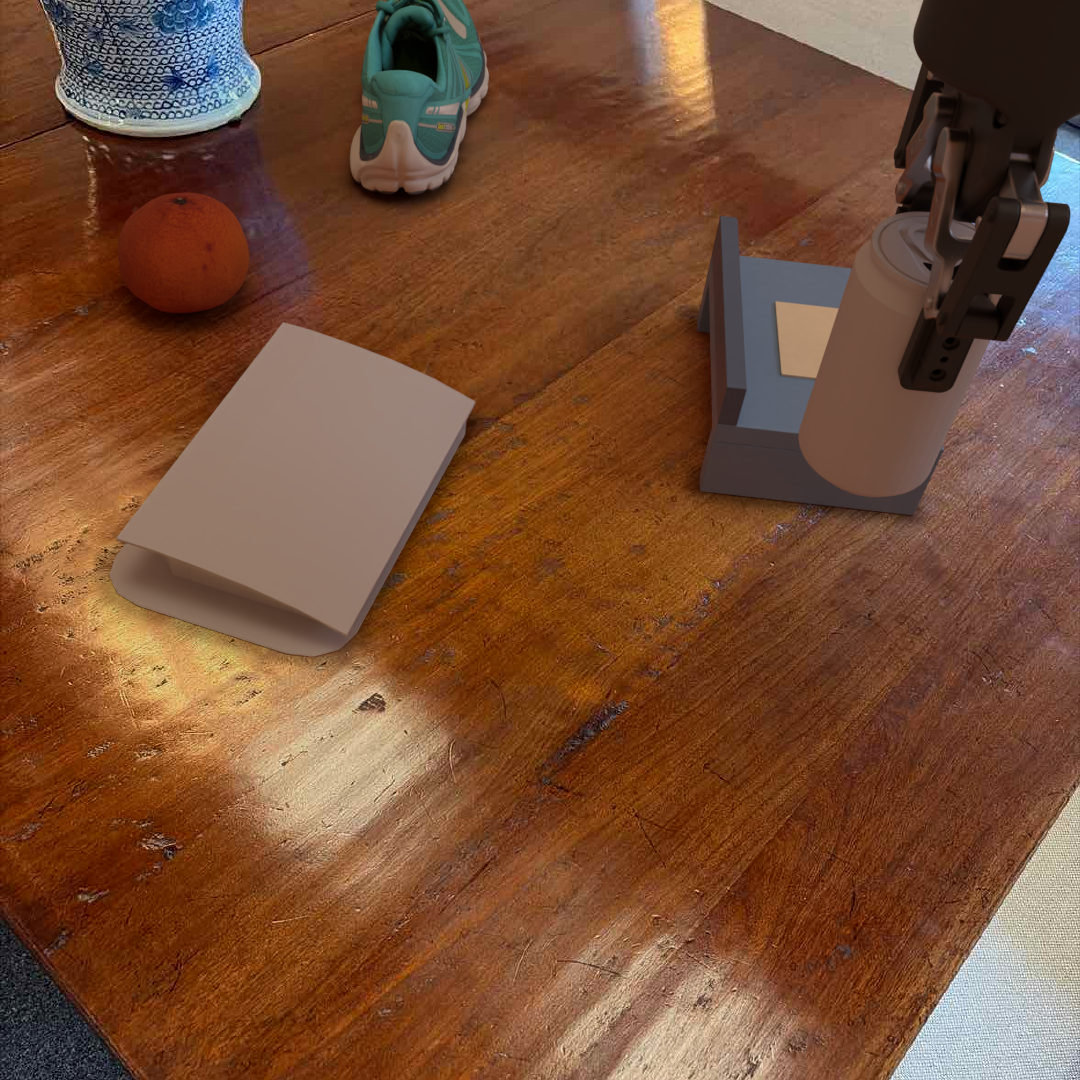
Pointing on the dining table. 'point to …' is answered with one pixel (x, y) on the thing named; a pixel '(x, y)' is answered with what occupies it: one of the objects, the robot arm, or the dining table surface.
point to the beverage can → (881, 371)
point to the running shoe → (416, 94)
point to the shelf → (771, 376)
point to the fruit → (183, 253)
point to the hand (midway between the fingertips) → (909, 331)
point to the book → (294, 496)
